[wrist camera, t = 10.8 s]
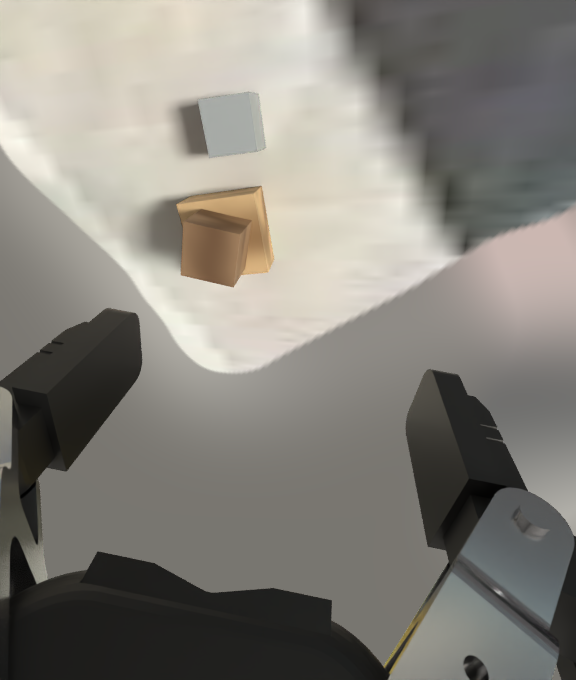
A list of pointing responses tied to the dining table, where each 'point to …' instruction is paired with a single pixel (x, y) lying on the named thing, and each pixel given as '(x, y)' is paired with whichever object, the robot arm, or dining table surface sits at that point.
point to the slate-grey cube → (232, 124)
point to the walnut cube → (215, 247)
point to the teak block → (242, 206)
